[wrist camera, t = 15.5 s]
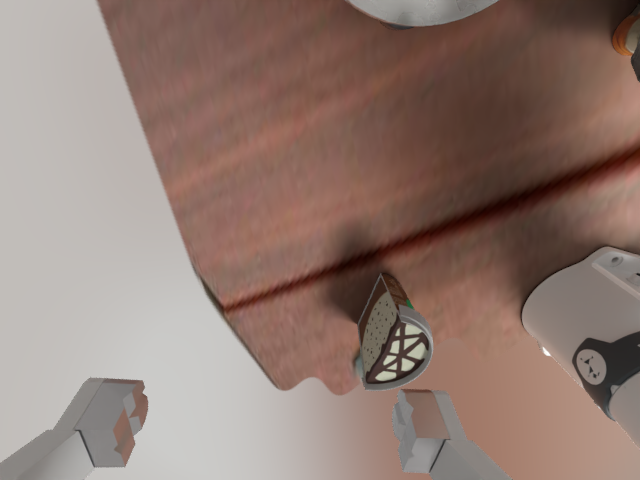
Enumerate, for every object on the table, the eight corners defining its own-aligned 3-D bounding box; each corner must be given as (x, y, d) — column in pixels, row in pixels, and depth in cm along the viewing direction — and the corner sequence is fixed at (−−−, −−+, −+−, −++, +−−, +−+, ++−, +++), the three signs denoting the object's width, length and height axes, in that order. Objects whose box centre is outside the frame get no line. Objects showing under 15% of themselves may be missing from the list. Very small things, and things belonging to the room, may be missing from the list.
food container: (393, 339, 51) (411, 400, 42) (354, 332, 50) (363, 393, 41) (428, 273, 45) (457, 328, 36) (384, 263, 44) (403, 317, 35)
